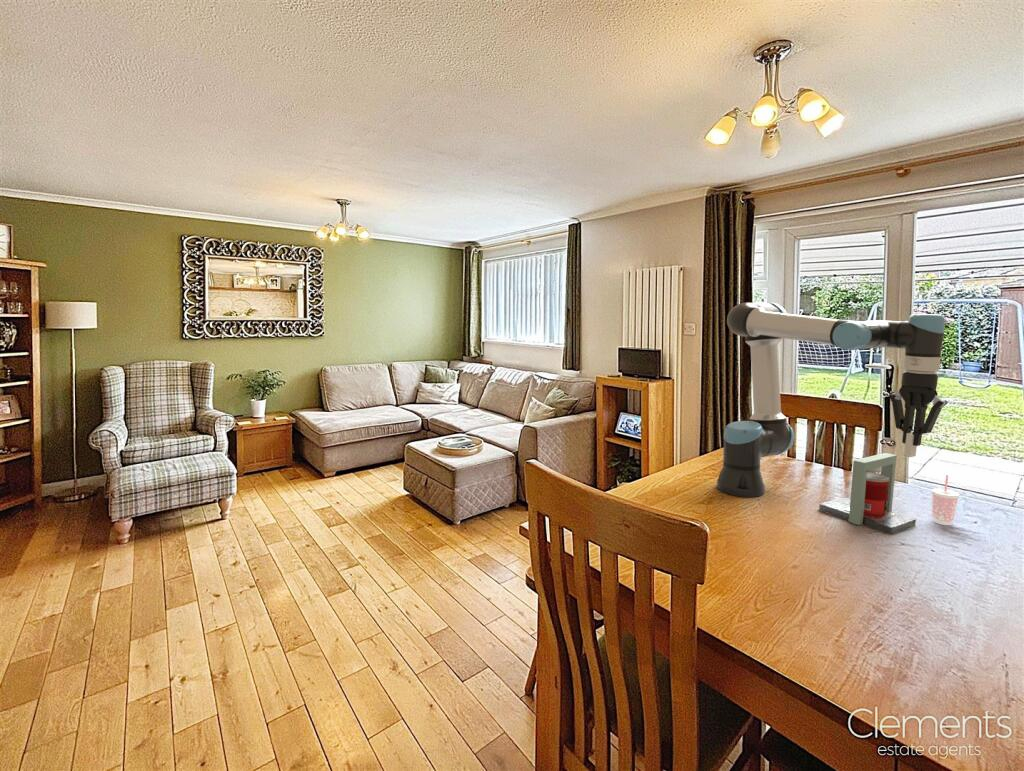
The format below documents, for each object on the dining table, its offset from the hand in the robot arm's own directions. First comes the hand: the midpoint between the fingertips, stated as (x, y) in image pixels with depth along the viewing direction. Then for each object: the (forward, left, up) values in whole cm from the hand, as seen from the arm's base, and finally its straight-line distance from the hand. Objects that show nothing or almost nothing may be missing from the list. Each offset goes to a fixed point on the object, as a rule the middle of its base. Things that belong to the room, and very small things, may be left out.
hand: (909, 455), depth 138 cm
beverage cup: (+3, +14, -21) cm, 25 cm away
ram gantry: (-7, -2, -21) cm, 22 cm away
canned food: (-8, -2, -19) cm, 20 cm away
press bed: (-9, -2, -21) cm, 23 cm away
